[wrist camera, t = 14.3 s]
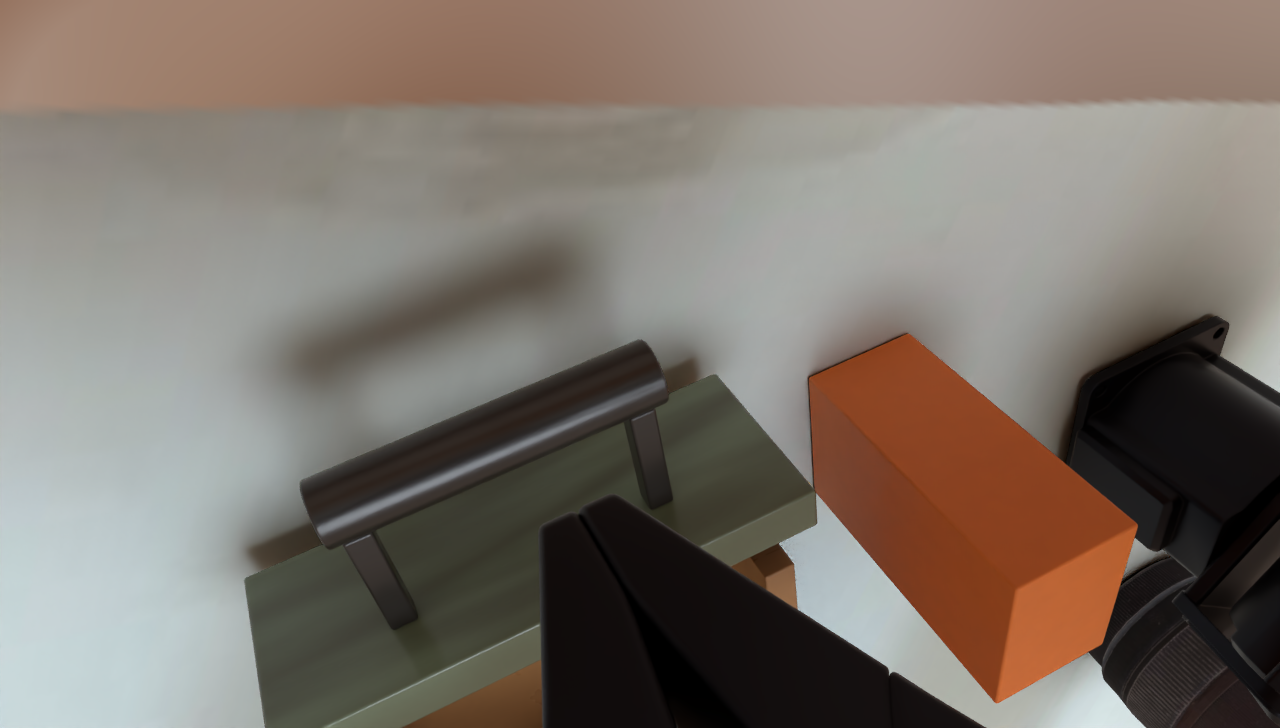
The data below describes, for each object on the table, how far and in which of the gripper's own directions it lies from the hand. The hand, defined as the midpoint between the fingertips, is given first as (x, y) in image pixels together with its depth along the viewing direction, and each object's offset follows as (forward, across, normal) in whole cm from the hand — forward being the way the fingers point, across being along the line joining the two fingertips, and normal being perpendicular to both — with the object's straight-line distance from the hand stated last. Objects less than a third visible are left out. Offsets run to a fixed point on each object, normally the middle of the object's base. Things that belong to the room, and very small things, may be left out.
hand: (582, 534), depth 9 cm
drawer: (+10, 0, +14) cm, 17 cm away
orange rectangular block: (+11, -11, +14) cm, 21 cm away
